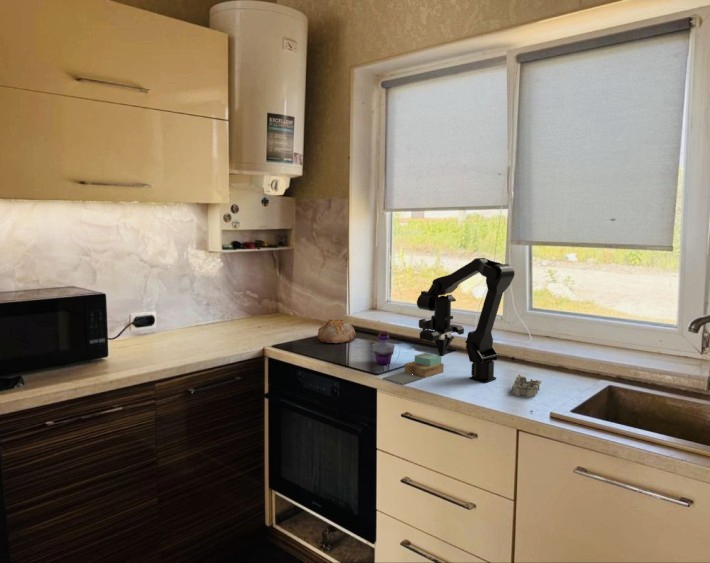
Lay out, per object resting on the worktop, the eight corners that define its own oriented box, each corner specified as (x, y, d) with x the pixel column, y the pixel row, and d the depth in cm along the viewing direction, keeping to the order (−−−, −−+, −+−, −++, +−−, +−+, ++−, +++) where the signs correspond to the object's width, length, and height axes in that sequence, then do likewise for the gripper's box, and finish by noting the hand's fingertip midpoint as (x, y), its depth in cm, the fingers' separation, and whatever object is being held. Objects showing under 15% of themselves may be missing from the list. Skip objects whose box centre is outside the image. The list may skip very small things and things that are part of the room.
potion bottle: (398, 362, 203) (398, 330, 202) (390, 367, 195) (390, 334, 194) (377, 359, 207) (377, 328, 205) (367, 365, 199) (368, 332, 198)
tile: (441, 363, 190) (441, 356, 190) (430, 366, 186) (430, 359, 186) (425, 359, 195) (425, 352, 195) (414, 362, 191) (414, 355, 191)
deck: (443, 372, 190) (443, 363, 190) (424, 378, 183) (425, 369, 183) (423, 366, 196) (423, 358, 196) (404, 372, 190) (404, 363, 189)
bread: (313, 346, 231) (311, 323, 230) (324, 336, 251) (322, 315, 250) (351, 346, 228) (350, 322, 227) (359, 335, 248) (358, 313, 247)
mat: (423, 378, 182) (423, 377, 182) (403, 384, 176) (403, 383, 176) (402, 372, 189) (402, 371, 189) (382, 378, 182) (382, 377, 182)
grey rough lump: (518, 385, 176) (518, 373, 175) (542, 389, 172) (543, 376, 172) (509, 394, 167) (509, 381, 166) (534, 399, 163) (535, 385, 162)
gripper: (440, 307, 206) (439, 347, 208) (407, 313, 194) (407, 356, 195) (465, 311, 198) (464, 353, 200) (432, 317, 185) (432, 362, 187)
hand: (441, 356), depth 196 cm, fingers closed
